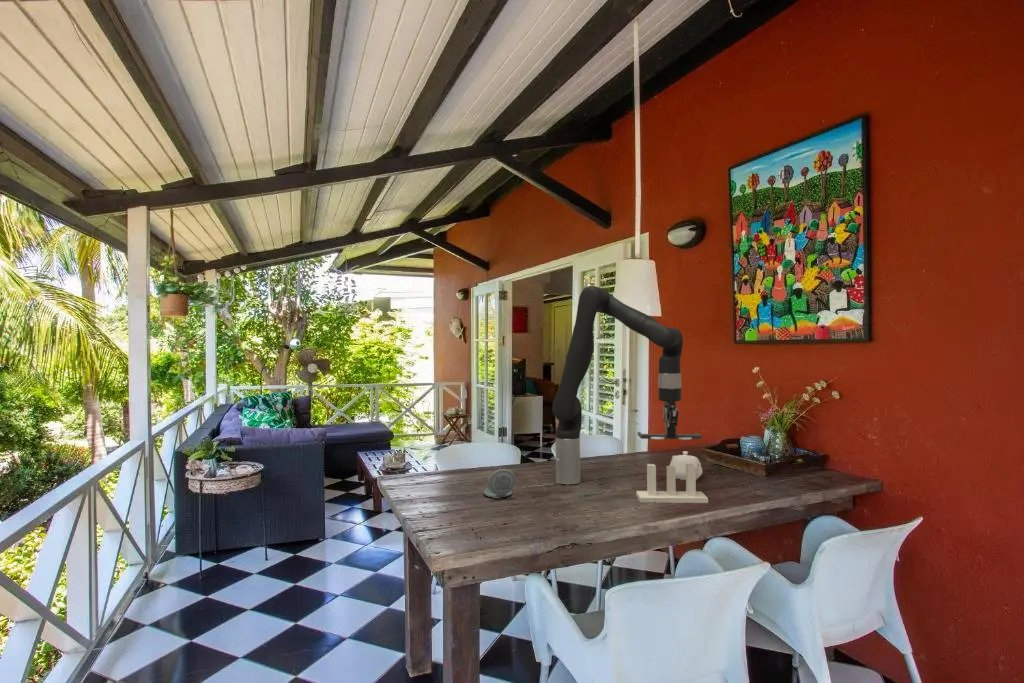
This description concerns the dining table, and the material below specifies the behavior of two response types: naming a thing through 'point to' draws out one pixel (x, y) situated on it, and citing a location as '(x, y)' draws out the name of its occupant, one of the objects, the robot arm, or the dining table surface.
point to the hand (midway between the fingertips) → (670, 437)
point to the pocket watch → (500, 483)
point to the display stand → (671, 488)
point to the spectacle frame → (665, 436)
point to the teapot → (681, 463)
